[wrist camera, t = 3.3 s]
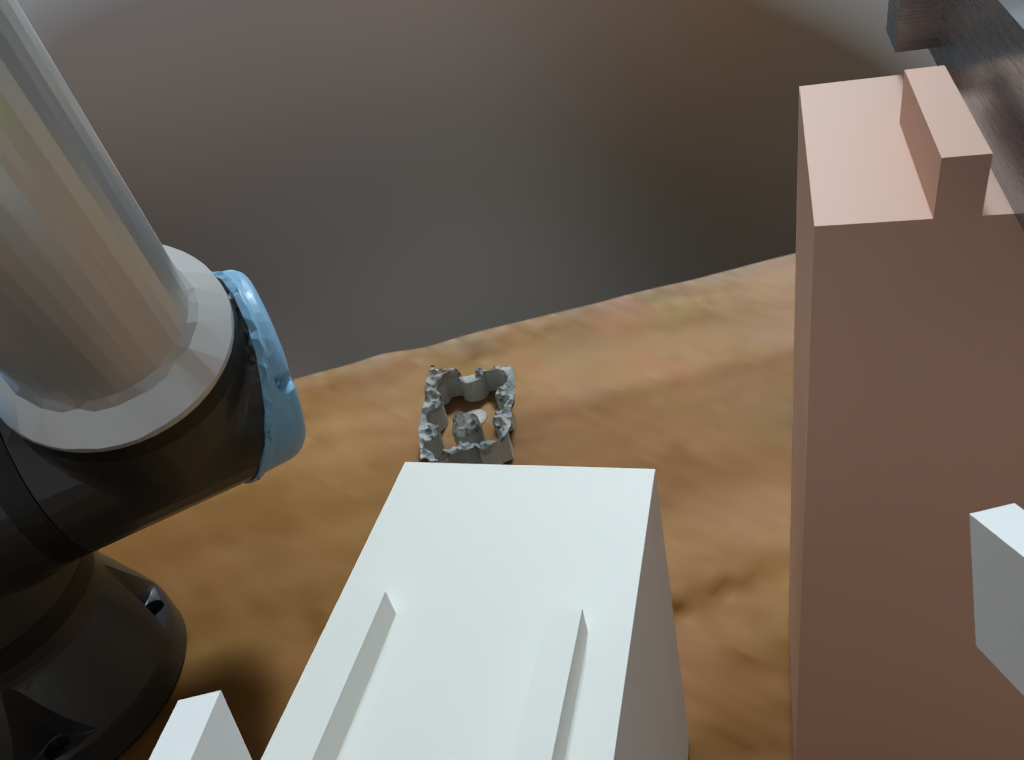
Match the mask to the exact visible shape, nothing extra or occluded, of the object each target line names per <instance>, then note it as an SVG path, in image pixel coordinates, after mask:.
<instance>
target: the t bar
mask: <svg viewBox="0 0 1024 760" xmlns="http://www.w3.org/2000/svg"><path fill="white" fill-rule="evenodd" d="M888 2H889V3H888V14H887V26H886V31H887V34H888V36H889V39H890V41H891V44H892V46H893V48H894V51H895V52H902V51H910V50H918V49H926V48H928V50H929V51H930V53H931V55H932V57H933V59H934V61H935V63H936V65H937V66H943V65H945V67H946V69H947V71H948V72H949V74H950V76H951V78H952V80H953V81H954V83H955V85H956V87H957V89H958V91H959V92H960V94H961V96H962V98H963V100H964V102H965V103H966V105H967V107H968V109H969V111H970V113H971V114H972V116H973V118H974V120H975V122H976V123H977V125H978V127H979V129H980V131H981V133H982V134H983V136H984V138H985V140H986V142H987V144H988V145H989V147H990V149H991V151H992V153H993V156H992V162H991V167H990V168H991V170H992V172H993V174H994V175H995V177H996V179H997V181H998V183H999V185H1000V187H1001V189H1002V191H1003V193H1004V194H1005V196H1006V198H1007V200H1008V202H1009V204H1010V206H1011V208H1012V210H1013V212H1014V214H1015V215H1016V217H1017V219H1018V221H1019V223H1020V225H1021V227H1022V229H1023V231H1024V0H889V1H888Z"/></svg>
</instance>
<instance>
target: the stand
mask: <svg viewBox="0 0 1024 760" xmlns="http://www.w3.org/2000/svg"><path fill="white" fill-rule="evenodd" d="M992 156H993V153H992V151H991V149H990V147H989V145H988V144H987V142H986V140H985V138H984V136H983V134H982V133H981V131H980V129H979V127H978V125H977V123H976V122H975V120H974V118H973V116H972V114H971V113H970V111H969V109H968V107H967V105H966V103H965V102H964V100H963V98H962V96H961V94H960V92H959V91H958V89H957V87H956V85H955V83H954V81H953V80H952V78H951V76H950V74H949V72H948V71H947V69H946V67H945V65H943V66H934V67H926V68H918V69H909V70H904V74H903V75H894V76H886V77H877V78H868V79H859V80H851V81H842V82H834V83H825V84H817V85H808V86H800V87H799V129H798V179H797V180H798V181H797V228H796V229H797V231H796V232H797V233H796V277H795V327H794V377H793V426H792V476H791V526H790V576H789V643H790V675H791V707H792V739H793V760H1024V695H1023V694H1022V693H1021V692H1020V691H1019V690H1018V689H1017V688H1016V687H1015V686H1014V685H1013V684H1012V683H1011V682H1010V681H1009V680H1008V679H1007V678H1006V677H1005V676H1004V675H1003V674H1002V672H1001V671H1000V670H999V669H998V668H997V667H996V666H995V665H994V664H993V663H992V662H991V661H990V660H989V659H988V658H987V657H986V656H985V655H984V654H983V653H982V652H981V650H980V649H979V648H978V647H977V646H976V636H975V616H974V596H973V576H972V556H971V536H970V516H969V514H971V513H975V512H979V511H983V510H988V509H992V508H996V507H1000V506H1005V505H1009V504H1013V503H1015V504H1016V505H1018V506H1019V507H1020V508H1022V509H1023V510H1024V231H1023V229H1022V227H1021V225H1020V223H1019V221H1018V219H1017V217H1016V215H1015V214H1014V212H1013V210H1012V208H1011V206H1010V204H1009V202H1008V200H1007V198H1006V196H1005V194H1004V193H1003V191H1002V189H1001V187H1000V185H999V183H998V181H997V179H996V177H995V175H994V174H993V172H992V170H991V168H990V167H991V162H992Z"/></svg>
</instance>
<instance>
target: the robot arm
mask: <svg viewBox="0 0 1024 760" xmlns="http://www.w3.org/2000/svg"><path fill="white" fill-rule="evenodd" d="M305 433H306V431H305V421H304V416H303V411H302V407H301V403H300V400H299V396H298V393H297V390H296V387H295V384H294V382H293V380H292V378H291V377H290V376H289V368H288V366H287V361H286V358H285V355H284V352H283V349H282V347H281V344H280V342H279V339H278V337H277V334H276V332H275V329H274V327H273V325H272V322H271V320H270V318H269V315H268V313H267V311H266V309H265V307H264V305H263V303H262V301H261V299H260V297H259V295H258V293H257V291H256V289H255V288H254V286H253V285H252V283H251V281H250V280H249V279H248V278H247V277H246V276H245V275H244V274H243V273H241V272H237V271H235V270H227V271H224V272H219V271H213V272H211V271H210V270H209V269H208V268H207V267H206V266H205V265H204V264H203V263H201V262H200V261H199V260H197V259H196V258H194V257H193V256H191V255H188V254H187V253H184V252H183V251H180V250H178V249H175V248H172V247H169V246H166V245H162V244H161V243H160V241H159V239H158V238H157V236H156V234H155V233H154V231H153V229H152V228H151V226H150V224H149V222H148V221H147V219H146V217H145V216H144V214H143V212H142V211H141V209H140V207H139V206H138V204H137V202H136V201H135V199H134V197H133V196H132V194H131V192H130V190H129V189H128V187H127V185H126V184H125V182H124V180H123V179H122V177H121V175H120V174H119V172H118V170H117V169H116V167H115V165H114V164H113V162H112V160H111V158H110V157H109V155H108V153H107V152H106V150H105V148H104V147H103V145H102V143H101V142H100V140H99V138H98V136H97V135H96V133H95V132H94V130H93V128H92V127H91V125H90V123H89V121H88V120H87V118H86V117H85V115H84V113H83V111H82V110H81V108H80V106H79V105H78V103H77V102H76V99H75V98H74V96H73V94H72V93H71V91H70V89H69V88H68V86H67V84H66V83H65V81H64V79H63V78H62V76H61V74H60V72H59V71H58V69H57V68H56V66H55V64H54V62H53V61H52V59H51V57H50V56H49V54H48V52H47V51H46V49H45V47H44V46H43V44H42V42H41V40H40V39H39V37H38V35H37V34H36V32H35V30H34V29H33V27H32V25H31V24H30V22H29V20H28V19H27V17H26V15H25V14H24V12H23V10H22V8H21V7H20V5H19V3H18V2H17V0H0V760H114V759H115V758H117V757H118V756H119V755H120V754H121V753H122V752H123V751H125V750H126V749H127V748H128V747H129V746H130V745H131V744H132V743H133V742H134V741H135V740H136V739H137V738H138V737H139V736H140V735H141V733H142V732H143V731H144V730H145V729H146V728H147V726H148V725H149V724H150V723H151V721H152V720H153V719H154V718H155V716H156V715H157V714H158V712H159V711H160V709H161V708H162V706H163V705H164V703H165V702H166V700H167V698H168V697H169V695H170V693H171V691H172V689H173V687H174V685H175V683H176V681H177V679H178V676H179V674H180V671H181V668H182V665H183V661H184V657H185V652H186V643H187V636H186V627H185V623H184V620H183V618H182V615H181V614H180V612H179V610H178V609H177V608H176V606H175V605H174V604H173V602H172V601H171V600H170V598H169V597H168V596H167V594H166V593H165V592H164V590H163V589H162V588H161V587H160V586H158V585H157V584H156V583H155V582H154V581H152V580H151V579H149V578H147V577H145V576H143V575H142V574H140V573H138V572H136V571H134V570H132V569H130V568H129V567H127V566H125V565H123V564H121V563H119V562H117V561H116V560H114V559H112V558H110V557H108V556H106V555H104V554H103V553H101V552H99V551H97V550H99V549H100V548H103V547H105V546H107V545H109V544H111V543H113V542H116V541H118V540H120V539H122V538H124V537H127V536H129V535H131V534H133V533H135V532H137V531H140V530H142V529H144V528H146V527H148V526H151V525H153V524H155V523H157V522H159V521H161V520H164V519H166V518H168V517H170V516H172V515H175V514H177V513H179V512H181V511H183V510H185V509H188V508H190V507H192V506H194V505H196V504H199V503H201V502H203V501H205V500H207V499H209V498H212V497H214V496H216V495H218V494H220V493H223V492H225V491H227V490H229V489H231V488H233V487H236V486H238V485H240V484H242V483H252V482H254V481H257V480H259V479H260V478H261V477H262V476H263V475H264V473H266V472H267V471H269V470H271V469H273V468H274V467H276V466H278V465H280V464H282V463H284V462H286V461H288V460H290V459H291V458H293V457H294V456H295V455H296V454H297V453H298V452H299V451H300V449H301V448H302V446H303V443H304V440H305ZM969 516H970V536H971V556H972V576H973V596H974V616H975V636H976V646H977V647H978V648H979V649H980V650H981V652H982V653H983V654H984V655H985V656H986V657H987V658H988V659H989V660H990V661H991V662H992V663H993V664H994V665H995V666H996V667H997V668H998V669H999V670H1000V671H1001V672H1002V674H1003V675H1004V676H1005V677H1006V678H1007V679H1008V680H1009V681H1010V682H1011V683H1012V684H1013V685H1014V686H1015V687H1016V688H1017V689H1018V690H1019V691H1020V692H1021V693H1022V694H1023V695H1024V510H1023V509H1022V508H1020V507H1019V506H1018V505H1016V504H1015V503H1013V504H1009V505H1005V506H1000V507H996V508H992V509H988V510H983V511H979V512H975V513H971V514H969ZM149 760H252V758H251V756H250V754H249V752H248V749H247V747H246V745H245V743H244V741H243V738H242V736H241V734H240V732H239V729H238V727H237V725H236V723H235V721H234V718H233V716H232V714H231V712H230V709H229V707H228V705H227V703H226V701H225V698H224V696H223V694H222V692H221V690H220V691H216V692H211V693H207V694H203V695H199V696H194V697H190V698H186V699H182V700H178V702H177V704H176V706H175V708H174V710H173V712H172V714H171V716H170V718H169V720H168V722H167V724H166V726H165V728H164V730H163V732H162V734H161V736H160V738H159V740H158V742H157V744H156V746H155V748H154V750H153V752H152V754H151V756H150V758H149Z"/></svg>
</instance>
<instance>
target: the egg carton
mask: <svg viewBox="0 0 1024 760" xmlns="http://www.w3.org/2000/svg"><path fill="white" fill-rule="evenodd" d="M475 373H476V374H475V375H470V376H465V377H462V376H461V374H460V372H459V371H458V370H457V369H454V368H446V369H443V370H442V369H435V368H434V365H431V366H430V368H429V373H427V380H426V384H425V401H424V404H423V407H422V417H421V422H420V426H419V443H420V461H421V459H422V458H426V459H427V460H428V463H460V464H495V465H502V464H503V463H505V462H507V461H509V460H513V459H514V450H513V445H512V442H511V439H510V436H509V432H510V431H513V430H514V428H515V427H514V426H515V423H514V419H513V416H512V411H511V407H512V404H514V403H515V395H514V390H515V375H514V369H513V368H512V367H510V366H507V367H499V366H494V368H493V369H489V370H483V369H481V368H476V369H475ZM496 390H497V391H496ZM490 391H496V394H495V397H496V401H497V404H498V408H499V411H495V415H493V419H492V422H493V425H494V426H495V429H496V433H497V436H498V439H499V440H497V441H490V440H489V441H486V440H485V436H484V432H483V429H482V424H483V423H484V422H485V421H486V419H487V413H486V412H485V411H484V410H481V409H474V410H470V411H469V412H467V413H463V412H462V411H458V412H456V413H455V415H454V417H453V428H452V433H453V436H454V439H455V442H456V444H457V447H451V449H449V450H446V449H445V445H444V442H443V439H442V436H441V433H440V431H442V430H444V429H445V428H446V427H447V425H448V418H447V414H446V411H445V408H444V405H446V404H447V403H449V402H450V400H451V399H452V397H455V396H464V399H465V400H467V401H469V402H476V401H480V400H482V399H484V398H486V397H487V396H488V394H489V392H490ZM440 457H441V458H440ZM438 458H440V459H438Z"/></svg>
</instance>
